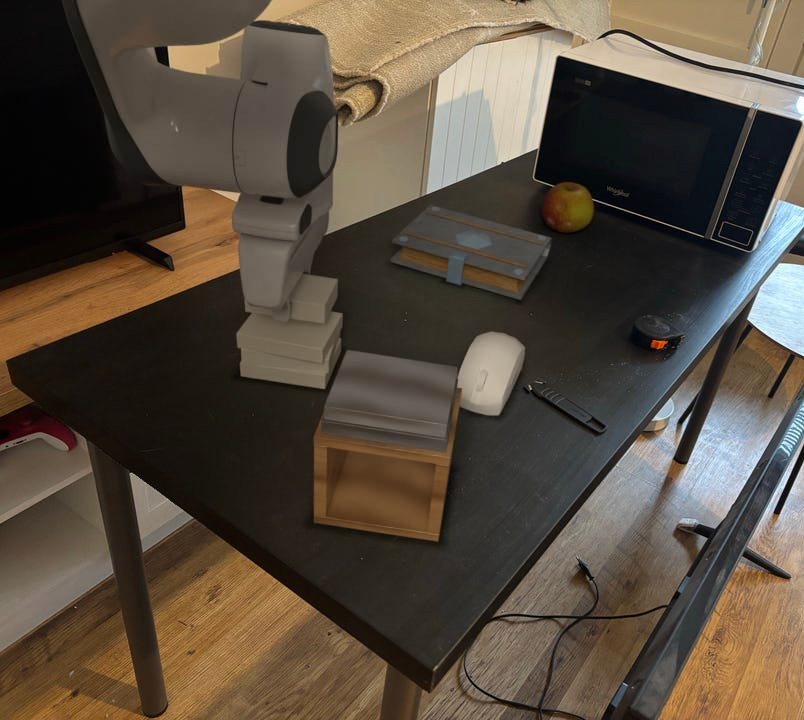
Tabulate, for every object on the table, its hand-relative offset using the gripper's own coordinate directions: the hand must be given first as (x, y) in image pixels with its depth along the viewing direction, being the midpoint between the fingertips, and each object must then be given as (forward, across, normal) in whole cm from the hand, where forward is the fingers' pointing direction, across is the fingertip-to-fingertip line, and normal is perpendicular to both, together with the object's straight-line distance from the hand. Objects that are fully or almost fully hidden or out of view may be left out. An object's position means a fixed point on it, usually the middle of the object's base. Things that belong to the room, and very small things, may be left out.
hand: (292, 301), depth 84 cm
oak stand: (+9, +19, +15) cm, 26 cm away
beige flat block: (0, 0, 0) cm, 1 cm away
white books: (+9, 0, 0) cm, 9 cm away
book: (+9, -33, +19) cm, 39 cm away
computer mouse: (+9, -2, +24) cm, 26 cm away
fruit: (+9, -51, +34) cm, 62 cm away
